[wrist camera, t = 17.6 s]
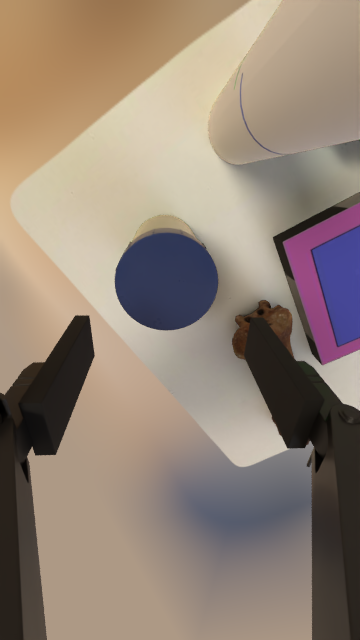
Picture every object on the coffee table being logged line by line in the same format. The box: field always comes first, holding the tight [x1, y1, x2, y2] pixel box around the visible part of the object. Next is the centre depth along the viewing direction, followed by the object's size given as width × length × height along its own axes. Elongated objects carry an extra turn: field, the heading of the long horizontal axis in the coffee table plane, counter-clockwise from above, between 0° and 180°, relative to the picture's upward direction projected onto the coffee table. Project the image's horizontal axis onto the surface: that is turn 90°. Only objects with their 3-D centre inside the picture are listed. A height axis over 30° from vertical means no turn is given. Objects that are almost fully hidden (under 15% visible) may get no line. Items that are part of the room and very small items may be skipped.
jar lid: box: [115, 228, 218, 330], centre depth 22 cm, size 8×8×2 cm
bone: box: [232, 300, 310, 445], centre depth 41 cm, size 9×8×30 cm
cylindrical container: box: [208, 0, 360, 165], centre depth 17 cm, size 7×7×25 cm
